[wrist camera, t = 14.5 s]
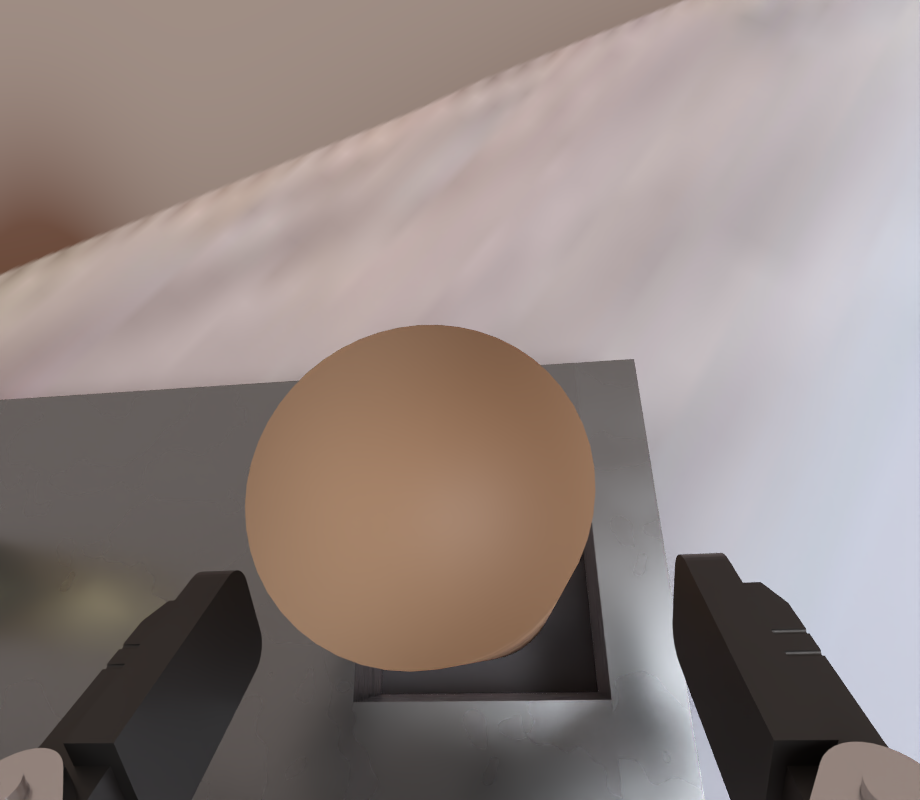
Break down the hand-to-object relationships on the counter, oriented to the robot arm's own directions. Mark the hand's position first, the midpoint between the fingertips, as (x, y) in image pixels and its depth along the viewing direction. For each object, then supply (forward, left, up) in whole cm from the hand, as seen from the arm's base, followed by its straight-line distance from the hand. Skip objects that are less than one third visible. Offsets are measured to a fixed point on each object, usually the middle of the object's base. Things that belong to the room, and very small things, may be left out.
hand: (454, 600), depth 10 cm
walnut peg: (0, +1, -8) cm, 8 cm away
